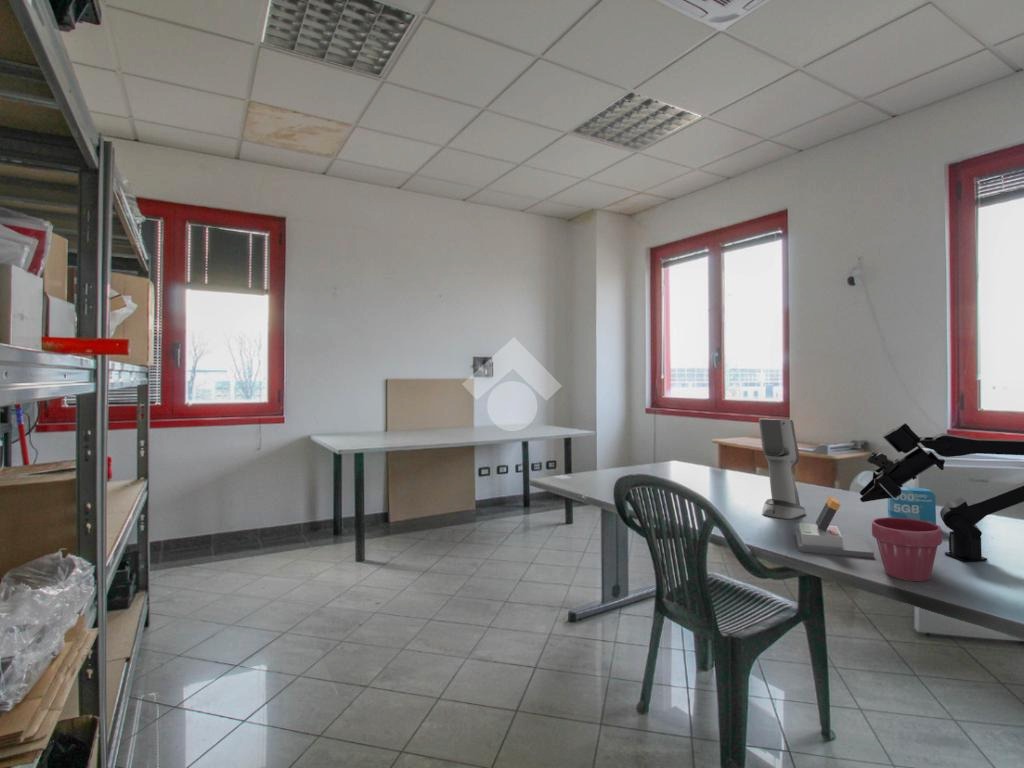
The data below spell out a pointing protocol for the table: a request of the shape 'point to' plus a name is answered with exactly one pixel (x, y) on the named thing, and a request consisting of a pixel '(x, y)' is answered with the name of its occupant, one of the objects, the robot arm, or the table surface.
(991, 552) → the table surface
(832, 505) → the lever
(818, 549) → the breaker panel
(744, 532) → the table surface
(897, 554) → the plant pot
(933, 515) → the data package
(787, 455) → the handheld scanner
